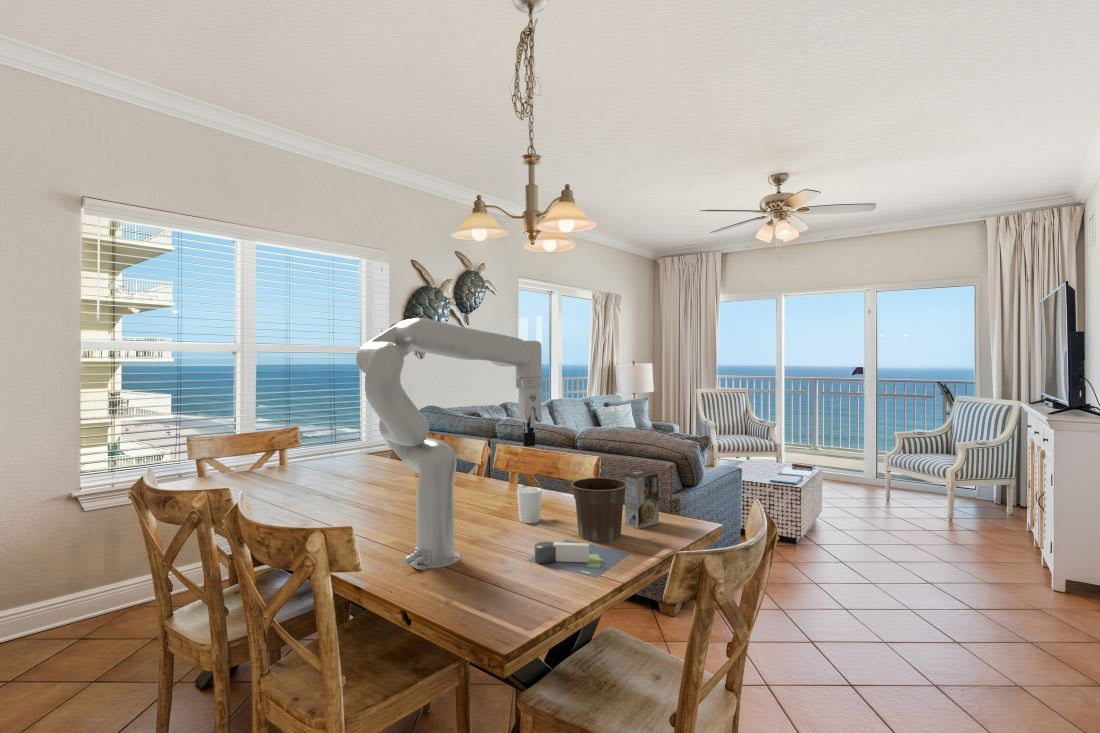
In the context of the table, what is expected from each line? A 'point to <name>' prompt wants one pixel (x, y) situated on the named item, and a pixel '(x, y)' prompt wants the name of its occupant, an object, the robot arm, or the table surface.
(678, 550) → the table surface
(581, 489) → the plant pot
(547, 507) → the table surface
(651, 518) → the coffee box
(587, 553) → the peg dial
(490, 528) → the table surface
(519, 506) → the white cup
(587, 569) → the board
